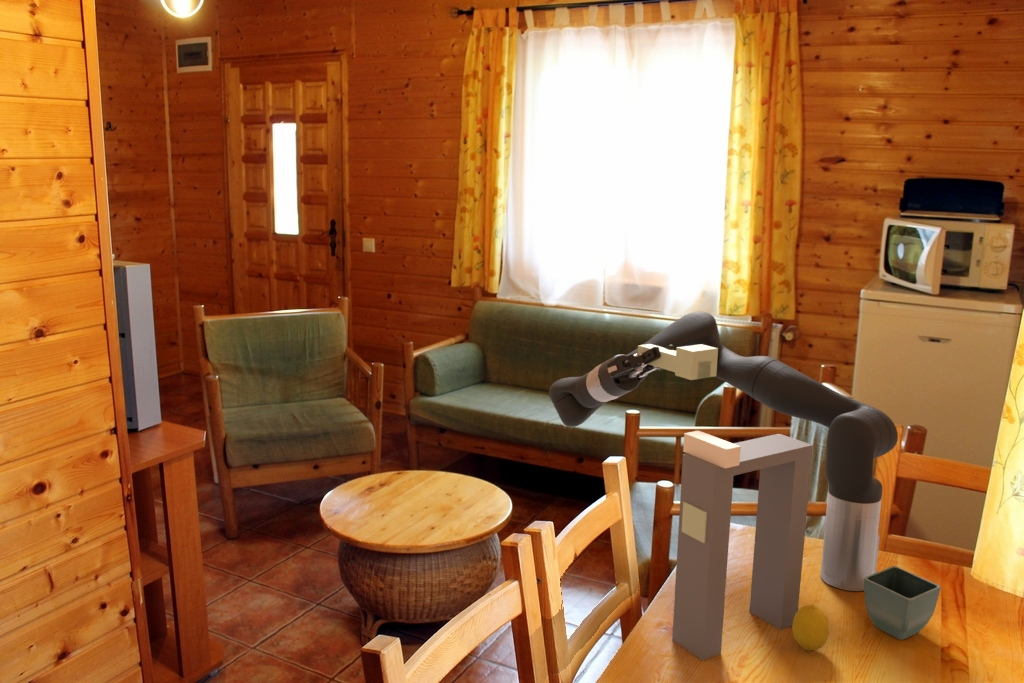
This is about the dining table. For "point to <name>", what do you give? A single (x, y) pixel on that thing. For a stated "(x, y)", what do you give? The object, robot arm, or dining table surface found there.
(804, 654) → the dining table surface
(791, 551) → the grey arch
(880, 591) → the flower pot
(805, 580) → the dining table surface
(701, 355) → the pale yellow block
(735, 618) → the dining table surface
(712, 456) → the cream bar
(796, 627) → the lemon
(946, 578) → the dining table surface
